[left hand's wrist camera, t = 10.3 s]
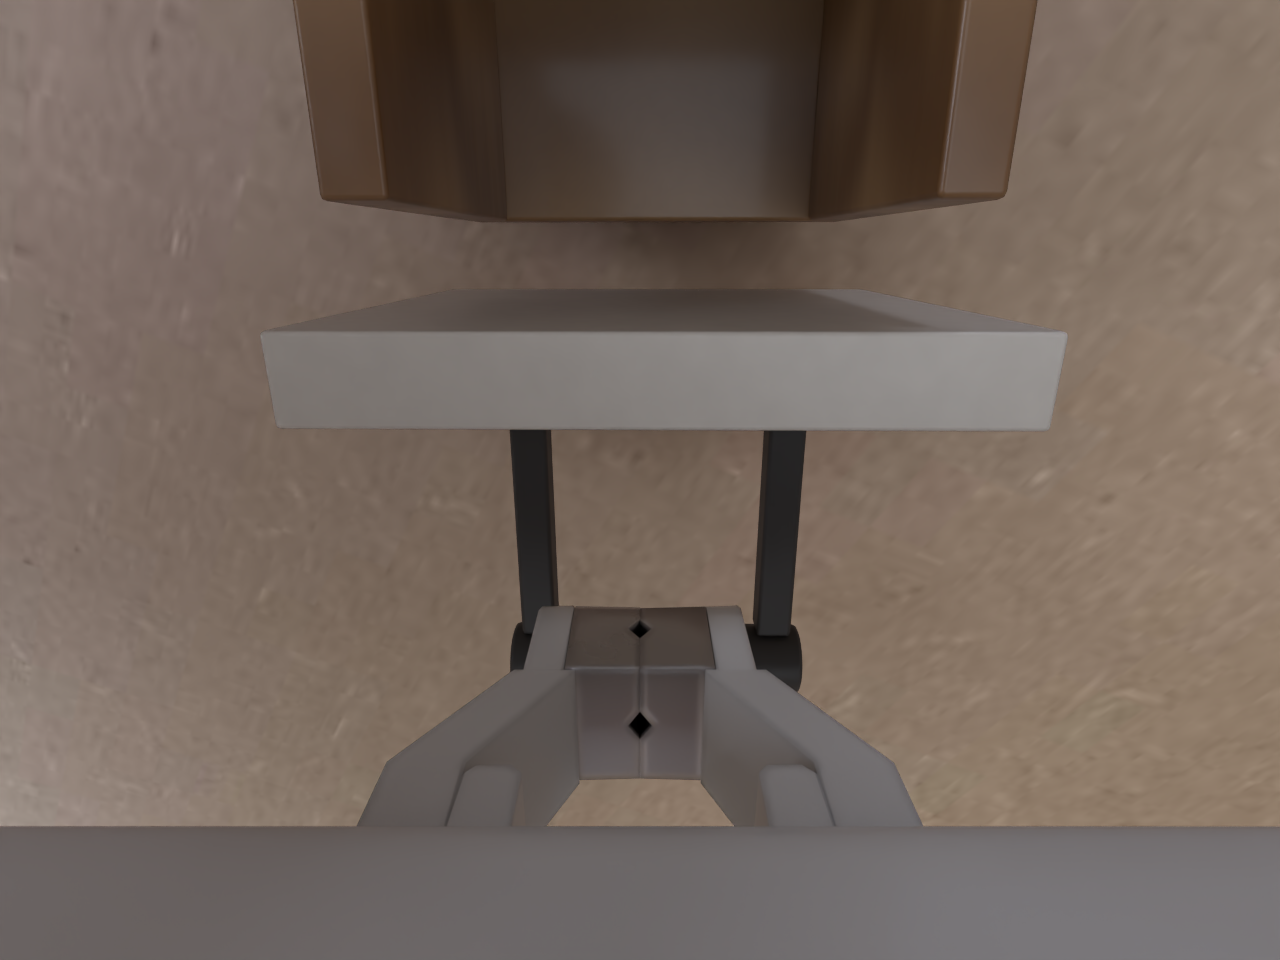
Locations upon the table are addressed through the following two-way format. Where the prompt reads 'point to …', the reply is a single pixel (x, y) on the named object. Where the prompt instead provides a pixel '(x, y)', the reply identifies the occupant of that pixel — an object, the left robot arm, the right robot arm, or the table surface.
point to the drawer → (664, 192)
